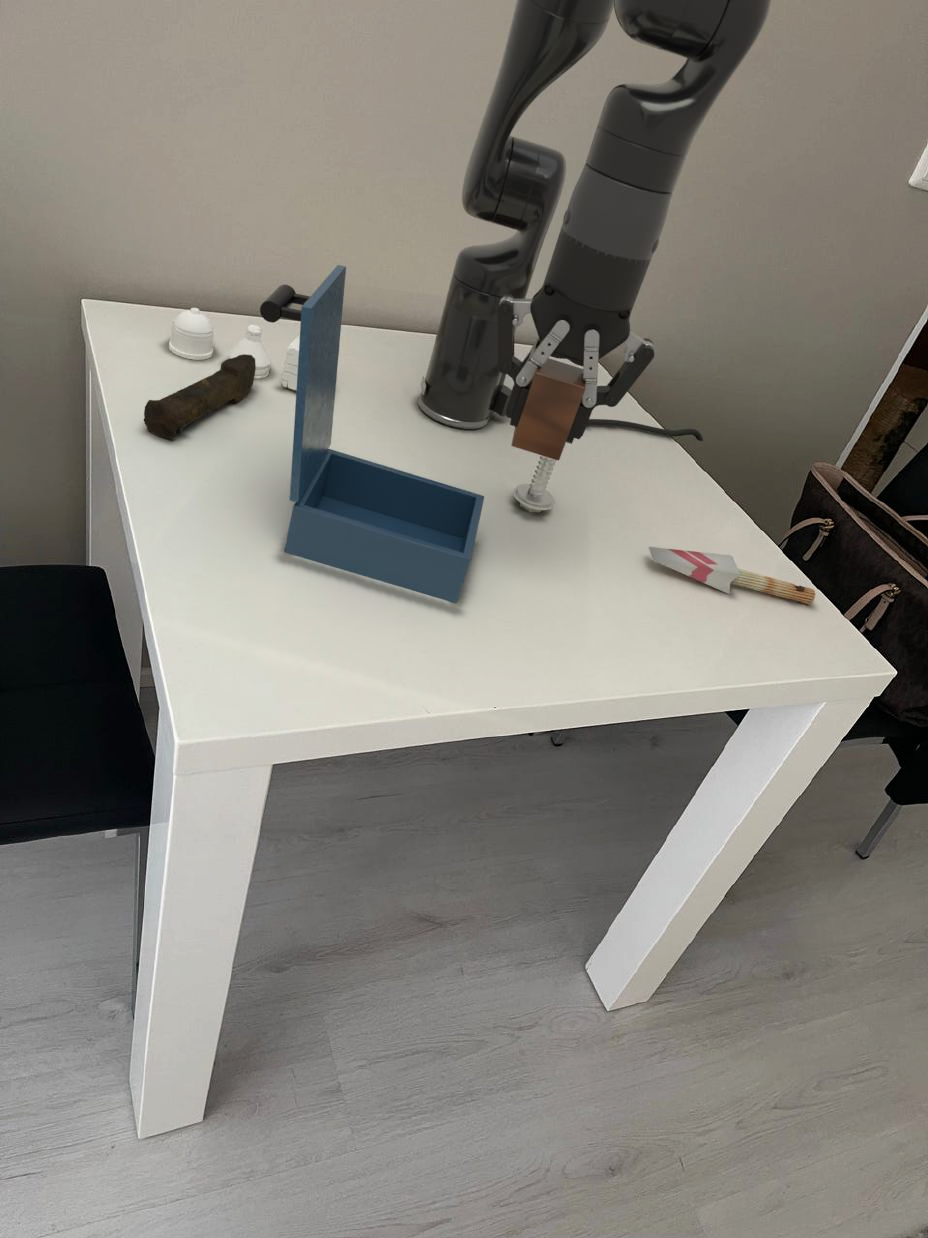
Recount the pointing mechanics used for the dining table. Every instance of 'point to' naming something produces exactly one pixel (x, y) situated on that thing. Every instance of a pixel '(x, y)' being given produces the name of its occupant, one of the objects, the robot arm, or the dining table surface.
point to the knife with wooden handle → (727, 573)
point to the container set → (196, 343)
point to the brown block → (549, 409)
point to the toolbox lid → (312, 369)
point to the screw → (537, 488)
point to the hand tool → (201, 397)
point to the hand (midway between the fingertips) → (541, 430)
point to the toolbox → (386, 525)
